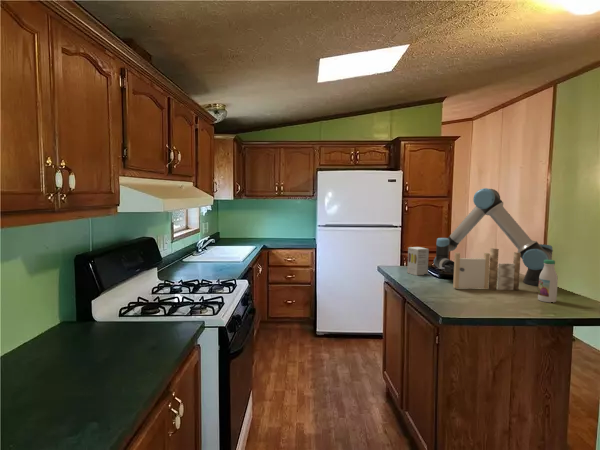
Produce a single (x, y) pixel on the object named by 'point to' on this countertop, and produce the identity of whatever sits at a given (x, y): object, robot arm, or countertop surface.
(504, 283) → the gate post and fence
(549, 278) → the milk bottle
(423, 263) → the supplement box
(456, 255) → the gate
